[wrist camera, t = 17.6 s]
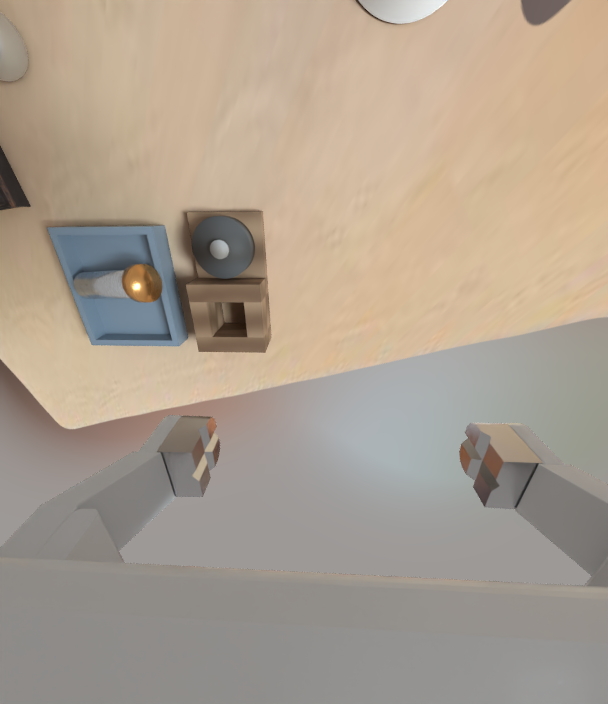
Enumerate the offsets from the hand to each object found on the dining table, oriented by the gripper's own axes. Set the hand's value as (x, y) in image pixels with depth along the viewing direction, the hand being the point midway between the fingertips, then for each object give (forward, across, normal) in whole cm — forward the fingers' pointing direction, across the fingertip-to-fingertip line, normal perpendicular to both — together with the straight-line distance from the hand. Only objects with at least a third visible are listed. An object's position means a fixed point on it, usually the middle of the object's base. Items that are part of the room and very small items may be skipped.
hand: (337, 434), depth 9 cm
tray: (+37, +31, +4) cm, 49 cm away
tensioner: (+37, +14, +3) cm, 40 cm away
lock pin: (+34, +36, +3) cm, 50 cm away
